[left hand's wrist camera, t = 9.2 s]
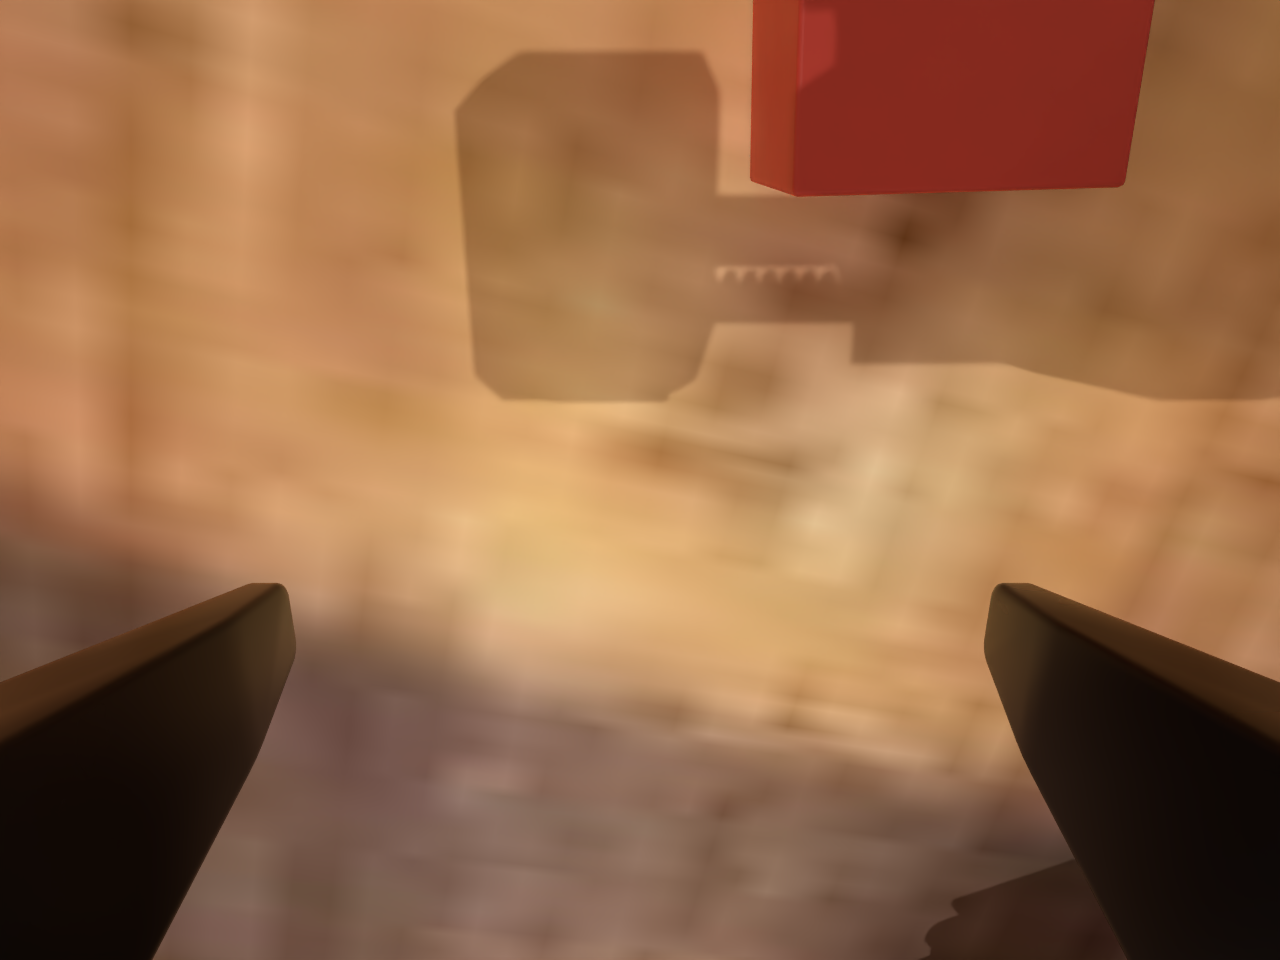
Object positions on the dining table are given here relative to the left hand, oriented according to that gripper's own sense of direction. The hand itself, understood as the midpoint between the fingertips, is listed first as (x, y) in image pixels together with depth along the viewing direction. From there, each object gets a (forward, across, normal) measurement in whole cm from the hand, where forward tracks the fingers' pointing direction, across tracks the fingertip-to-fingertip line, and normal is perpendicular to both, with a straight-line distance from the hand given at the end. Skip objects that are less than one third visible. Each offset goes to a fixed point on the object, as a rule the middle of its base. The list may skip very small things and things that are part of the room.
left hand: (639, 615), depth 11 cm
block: (+8, -4, -8) cm, 12 cm away
